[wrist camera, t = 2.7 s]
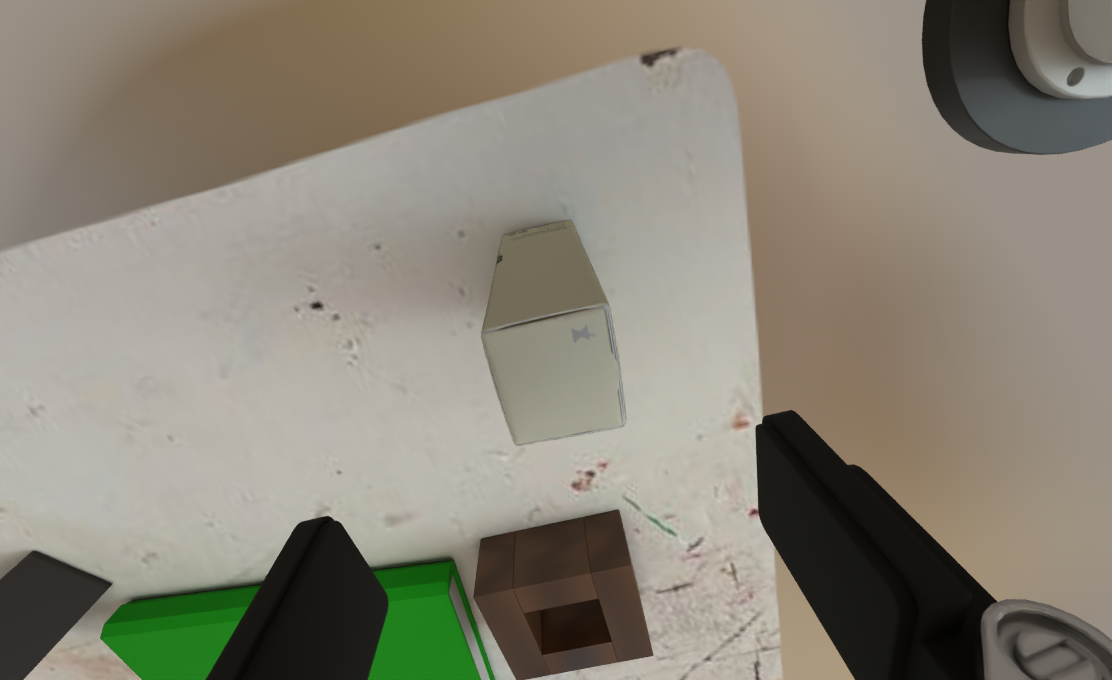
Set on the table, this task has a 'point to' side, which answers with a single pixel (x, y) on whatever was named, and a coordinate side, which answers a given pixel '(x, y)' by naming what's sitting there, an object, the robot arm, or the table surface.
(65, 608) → the phone stand
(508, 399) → the box
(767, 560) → the table surface
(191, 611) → the book
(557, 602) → the brown frame
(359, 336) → the table surface
